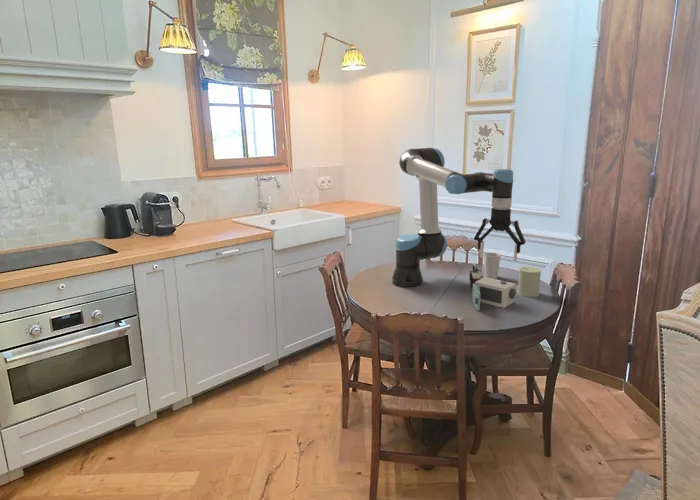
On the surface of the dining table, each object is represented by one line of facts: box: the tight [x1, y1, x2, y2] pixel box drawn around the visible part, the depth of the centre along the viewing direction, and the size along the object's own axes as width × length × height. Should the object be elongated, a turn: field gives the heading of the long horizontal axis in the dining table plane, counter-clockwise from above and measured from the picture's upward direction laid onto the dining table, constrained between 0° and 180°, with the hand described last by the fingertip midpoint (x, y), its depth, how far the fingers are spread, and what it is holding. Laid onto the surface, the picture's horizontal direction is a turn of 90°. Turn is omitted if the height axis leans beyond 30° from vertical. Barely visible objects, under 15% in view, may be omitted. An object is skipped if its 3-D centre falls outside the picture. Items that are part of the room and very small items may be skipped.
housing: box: [475, 276, 517, 309], centre depth 198 cm, size 15×9×9 cm, turn 46°
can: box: [517, 266, 542, 298], centre depth 206 cm, size 9×9×12 cm
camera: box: [469, 263, 485, 292], centre depth 216 cm, size 15×8×10 cm, turn 168°
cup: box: [483, 252, 501, 280], centre depth 230 cm, size 8×8×12 cm
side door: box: [471, 284, 481, 311], centre depth 194 cm, size 12×2×8 cm, turn 176°
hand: (498, 258), depth 190 cm, fingers open, 13 cm apart
